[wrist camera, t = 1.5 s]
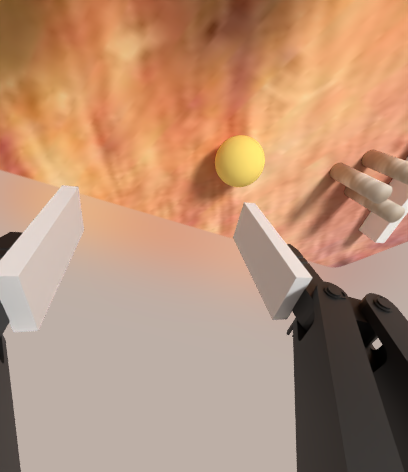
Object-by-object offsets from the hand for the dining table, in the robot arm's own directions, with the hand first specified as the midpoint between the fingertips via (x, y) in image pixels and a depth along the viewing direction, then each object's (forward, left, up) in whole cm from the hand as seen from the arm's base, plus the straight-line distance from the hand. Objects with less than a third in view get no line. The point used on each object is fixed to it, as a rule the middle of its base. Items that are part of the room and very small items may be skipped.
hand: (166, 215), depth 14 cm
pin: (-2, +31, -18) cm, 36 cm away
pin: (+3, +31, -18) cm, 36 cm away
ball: (0, +10, -15) cm, 17 cm away
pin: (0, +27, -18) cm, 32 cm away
